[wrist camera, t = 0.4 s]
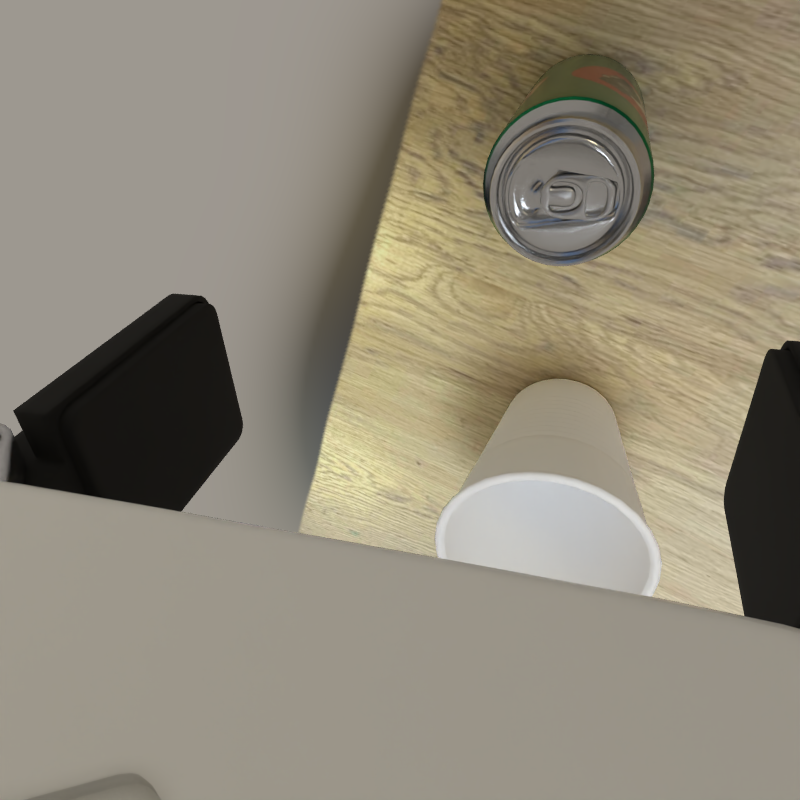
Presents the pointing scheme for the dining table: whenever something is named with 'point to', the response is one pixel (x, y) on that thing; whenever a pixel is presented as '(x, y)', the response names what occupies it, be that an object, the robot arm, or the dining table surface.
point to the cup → (554, 496)
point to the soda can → (572, 164)
